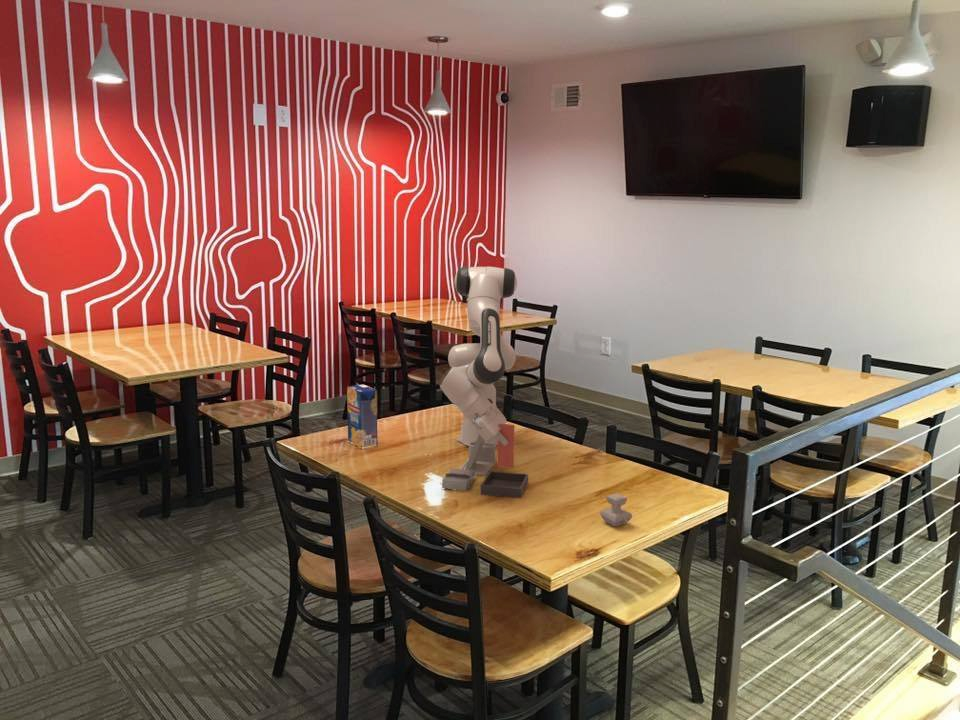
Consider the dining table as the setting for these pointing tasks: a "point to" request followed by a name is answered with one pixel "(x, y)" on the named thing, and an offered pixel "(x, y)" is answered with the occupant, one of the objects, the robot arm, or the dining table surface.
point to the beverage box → (362, 415)
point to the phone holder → (480, 457)
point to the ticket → (506, 447)
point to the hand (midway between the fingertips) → (507, 442)
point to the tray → (504, 484)
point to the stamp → (616, 511)
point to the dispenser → (458, 479)
